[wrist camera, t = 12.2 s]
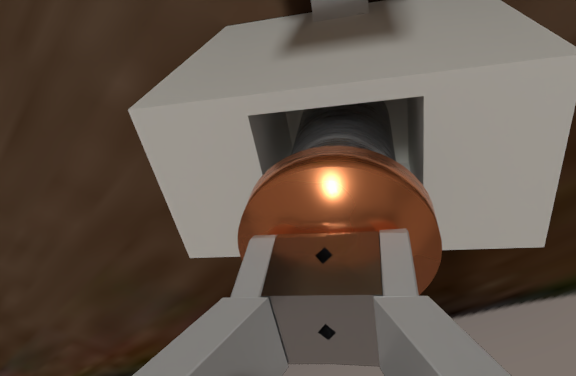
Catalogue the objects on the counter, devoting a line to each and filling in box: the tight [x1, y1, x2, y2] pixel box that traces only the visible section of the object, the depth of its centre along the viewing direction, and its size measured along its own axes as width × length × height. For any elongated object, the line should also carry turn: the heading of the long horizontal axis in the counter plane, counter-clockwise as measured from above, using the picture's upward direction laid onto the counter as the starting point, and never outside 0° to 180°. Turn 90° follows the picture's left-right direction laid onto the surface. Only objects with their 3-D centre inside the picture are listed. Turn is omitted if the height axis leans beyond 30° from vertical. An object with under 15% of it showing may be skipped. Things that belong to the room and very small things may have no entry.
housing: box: [128, 0, 576, 258], centre depth 14 cm, size 10×5×9 cm, turn 100°
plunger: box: [237, 101, 442, 295], centre depth 10 cm, size 4×4×6 cm
